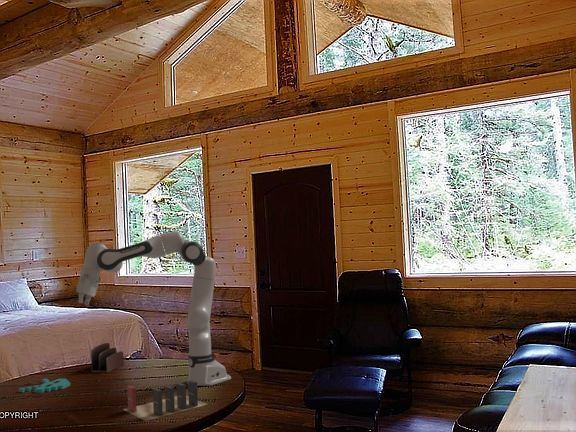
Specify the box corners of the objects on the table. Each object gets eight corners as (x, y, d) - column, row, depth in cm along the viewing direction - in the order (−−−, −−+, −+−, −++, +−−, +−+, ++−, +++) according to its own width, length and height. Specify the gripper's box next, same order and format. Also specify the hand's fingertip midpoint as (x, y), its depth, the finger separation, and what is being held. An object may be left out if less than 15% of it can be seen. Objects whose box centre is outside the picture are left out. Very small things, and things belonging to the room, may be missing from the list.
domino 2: (169, 409, 231) (168, 385, 232) (174, 411, 227) (173, 387, 228) (165, 410, 230) (164, 386, 231) (171, 412, 226) (170, 388, 227)
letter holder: (91, 372, 311) (90, 347, 312) (109, 364, 330) (108, 341, 331) (107, 372, 309) (106, 347, 310) (124, 364, 329) (123, 341, 329)
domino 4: (192, 403, 238) (191, 380, 239) (197, 405, 234) (197, 382, 235) (188, 404, 237) (187, 380, 238) (194, 406, 233) (193, 382, 234)
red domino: (131, 409, 234) (130, 385, 235) (136, 411, 230) (135, 387, 231) (128, 409, 233) (127, 386, 234) (132, 412, 229) (132, 388, 230)
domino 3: (180, 406, 235) (179, 382, 235) (186, 408, 231) (185, 384, 231) (177, 407, 234) (176, 383, 234) (183, 409, 230) (182, 385, 230)
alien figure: (18, 393, 275) (54, 393, 271) (18, 389, 275) (54, 389, 271) (44, 382, 294) (77, 383, 290) (44, 378, 294) (77, 378, 290)
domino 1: (157, 412, 228) (156, 388, 228) (162, 415, 224) (161, 390, 224) (153, 413, 227) (152, 389, 227) (159, 416, 223) (158, 391, 223)
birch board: (183, 396, 253) (183, 394, 253) (208, 406, 236) (208, 404, 236) (123, 411, 234) (122, 409, 234) (145, 423, 217) (145, 421, 217)
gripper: (90, 273, 257) (83, 302, 254) (101, 279, 277) (95, 306, 273) (76, 271, 257) (69, 300, 254) (89, 277, 277) (82, 305, 273)
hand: (83, 304), depth 264 cm, fingers open, 8 cm apart
